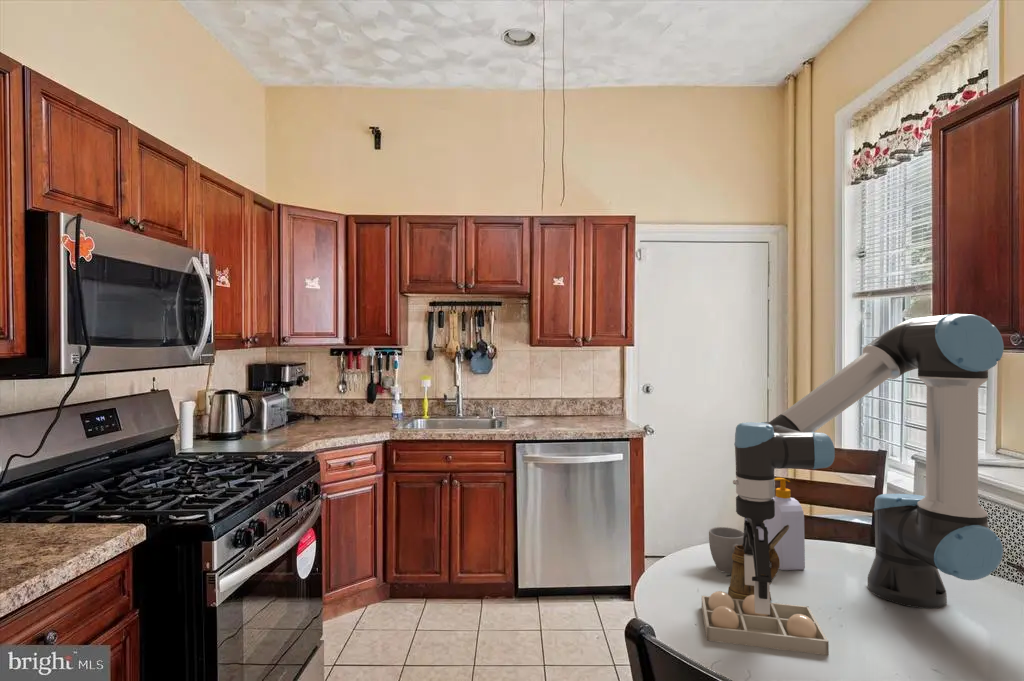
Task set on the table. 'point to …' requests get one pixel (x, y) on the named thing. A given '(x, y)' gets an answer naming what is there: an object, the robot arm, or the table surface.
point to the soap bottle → (793, 539)
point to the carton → (766, 629)
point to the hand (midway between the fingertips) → (756, 598)
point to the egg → (750, 606)
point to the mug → (724, 546)
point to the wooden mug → (738, 571)
